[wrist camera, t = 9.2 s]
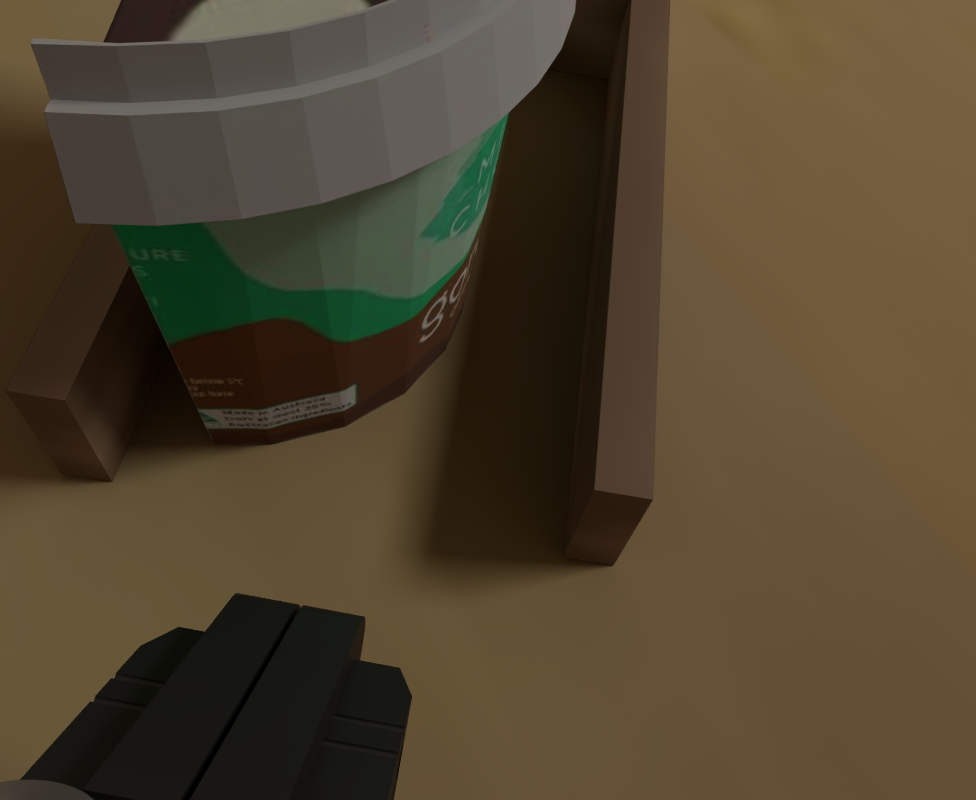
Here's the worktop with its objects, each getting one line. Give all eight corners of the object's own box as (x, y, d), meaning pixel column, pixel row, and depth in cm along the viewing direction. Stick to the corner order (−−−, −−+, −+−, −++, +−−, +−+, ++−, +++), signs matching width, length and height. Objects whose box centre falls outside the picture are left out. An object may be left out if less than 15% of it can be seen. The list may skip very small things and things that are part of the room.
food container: (511, 532, 17) (632, 138, 9) (197, 511, 17) (12, 76, 8) (517, 119, 24) (589, -330, 15) (292, 97, 23) (241, -378, 15)
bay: (642, 64, 26) (671, -32, 23) (613, 565, 17) (652, 499, 15) (278, 0, 26) (266, -103, 23) (61, 472, 17) (5, 390, 14)
